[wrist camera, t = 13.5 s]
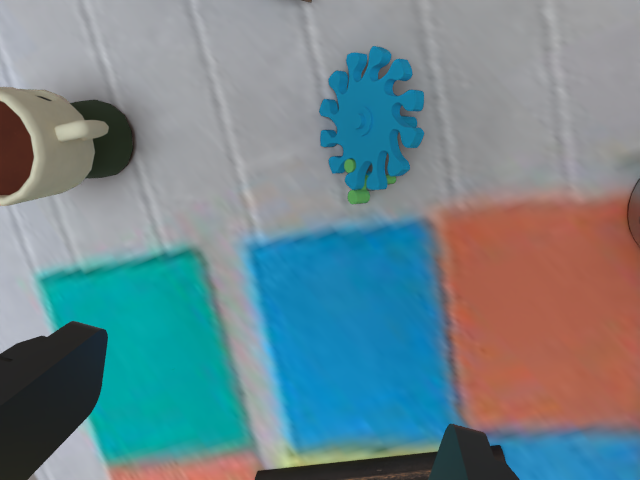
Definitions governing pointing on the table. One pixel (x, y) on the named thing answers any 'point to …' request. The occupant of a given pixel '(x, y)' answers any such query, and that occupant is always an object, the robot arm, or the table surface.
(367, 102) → the gear
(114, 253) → the table surface
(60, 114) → the character mug
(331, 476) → the hardcover book
